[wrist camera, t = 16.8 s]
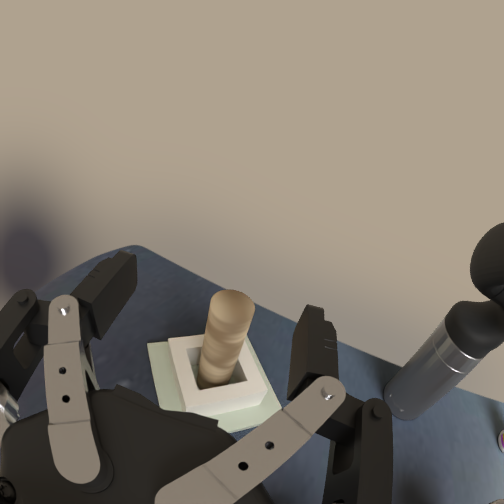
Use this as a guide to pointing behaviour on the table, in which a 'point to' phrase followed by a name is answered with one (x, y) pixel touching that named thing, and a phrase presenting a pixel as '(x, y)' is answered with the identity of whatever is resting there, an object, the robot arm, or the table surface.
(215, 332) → the peg
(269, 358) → the table surface
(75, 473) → the robot arm
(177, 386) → the socket
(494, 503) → the pillar candle
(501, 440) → the supplement bottle
